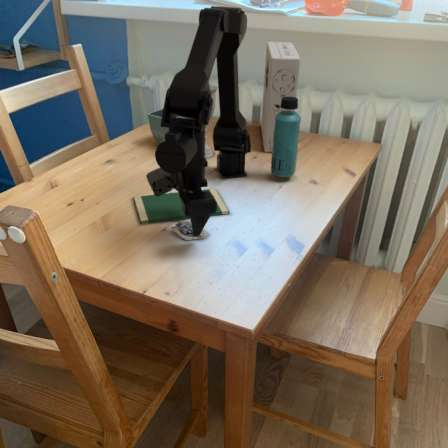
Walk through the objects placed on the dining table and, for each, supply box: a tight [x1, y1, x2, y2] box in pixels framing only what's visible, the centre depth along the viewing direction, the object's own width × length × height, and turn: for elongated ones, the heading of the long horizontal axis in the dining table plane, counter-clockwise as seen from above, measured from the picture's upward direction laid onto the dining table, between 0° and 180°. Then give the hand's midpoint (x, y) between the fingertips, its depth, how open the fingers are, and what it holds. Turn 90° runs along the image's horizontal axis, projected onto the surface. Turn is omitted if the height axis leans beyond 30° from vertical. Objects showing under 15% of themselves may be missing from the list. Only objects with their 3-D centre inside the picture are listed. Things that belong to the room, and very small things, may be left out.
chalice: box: [205, 83, 218, 158], centre depth 132 cm, size 7×7×18 cm
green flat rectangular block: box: [133, 188, 230, 225], centre depth 112 cm, size 20×12×1 cm, turn 106°
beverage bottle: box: [270, 97, 302, 178], centre depth 120 cm, size 6×7×20 cm
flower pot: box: [147, 108, 185, 145], centre depth 140 cm, size 9×9×9 cm
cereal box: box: [260, 41, 301, 153], centre depth 140 cm, size 22×8×25 cm, turn 179°
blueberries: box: [170, 220, 208, 241], centre depth 102 cm, size 7×8×2 cm
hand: (191, 225), depth 102 cm, fingers open, 9 cm apart
